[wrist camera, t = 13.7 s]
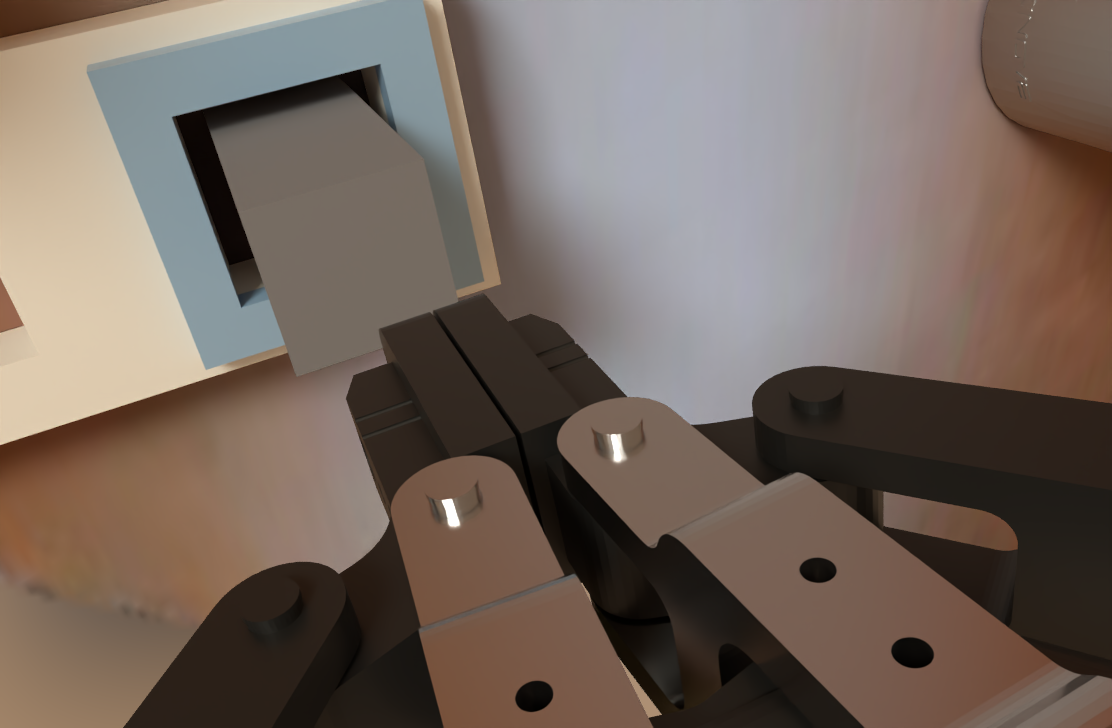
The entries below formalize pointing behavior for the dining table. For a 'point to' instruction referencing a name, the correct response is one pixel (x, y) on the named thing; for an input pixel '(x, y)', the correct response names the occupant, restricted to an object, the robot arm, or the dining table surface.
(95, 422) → the dining table surface
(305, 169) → the plug
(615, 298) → the dining table surface
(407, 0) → the socket block
